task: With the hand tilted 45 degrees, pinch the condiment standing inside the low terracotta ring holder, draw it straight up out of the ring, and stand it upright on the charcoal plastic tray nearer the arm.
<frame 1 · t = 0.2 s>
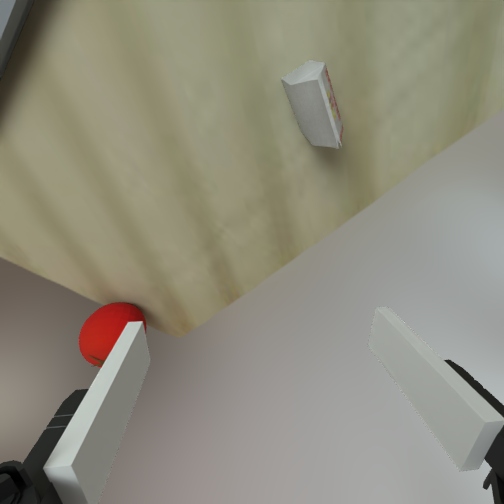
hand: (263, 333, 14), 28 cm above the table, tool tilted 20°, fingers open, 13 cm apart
white carton: (304, 98, 31), on the table
tomato: (125, 307, 55), on the table
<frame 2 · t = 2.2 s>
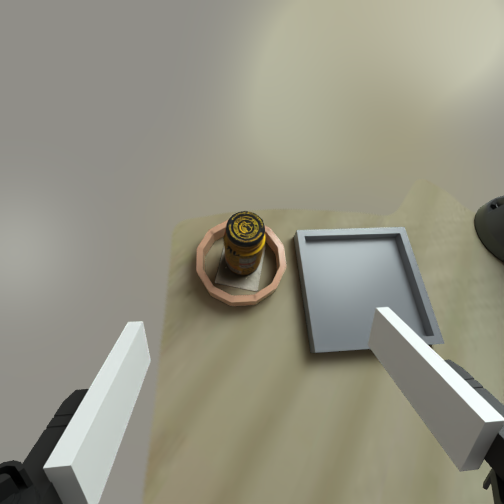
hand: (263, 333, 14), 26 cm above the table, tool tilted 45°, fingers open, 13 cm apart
ring holder: (241, 264, 43), on the table
condiment: (241, 264, 43), resting in ring holder
tray: (358, 286, 43), on the table
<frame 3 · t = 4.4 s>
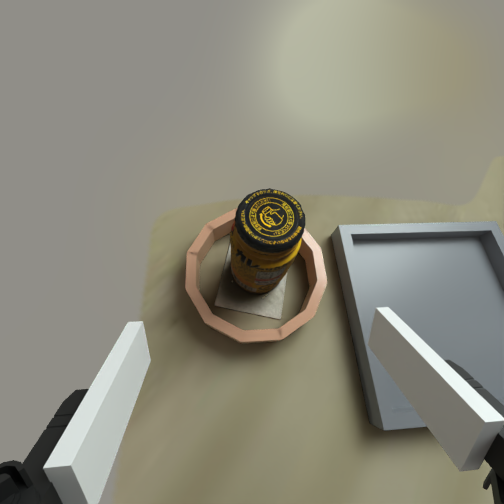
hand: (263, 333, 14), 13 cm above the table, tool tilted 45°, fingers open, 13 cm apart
ring holder: (254, 275, 29), on the table
condiment: (254, 276, 29), resting in ring holder
tray: (432, 311, 28), on the table
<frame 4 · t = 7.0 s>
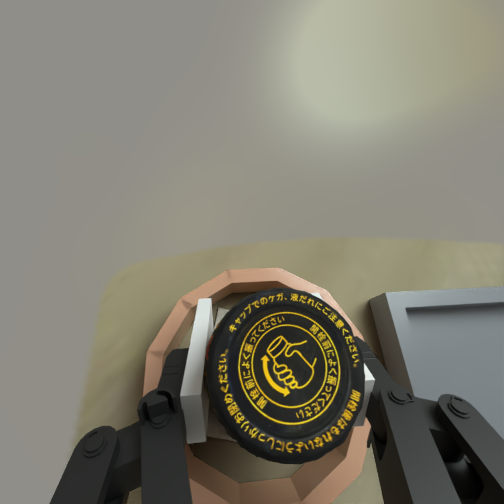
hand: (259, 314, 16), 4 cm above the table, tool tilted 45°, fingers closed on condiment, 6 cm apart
ring holder: (257, 373, 18), on the table
condiment: (254, 373, 19), resting in ring holder, touching gripper
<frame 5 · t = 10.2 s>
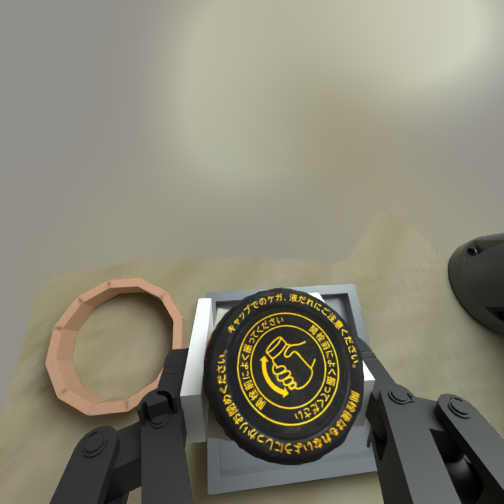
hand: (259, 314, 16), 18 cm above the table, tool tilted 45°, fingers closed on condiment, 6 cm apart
ring holder: (127, 341, 31), on the table
condiment: (253, 374, 19), point 14 cm above the table, touching gripper
tray: (288, 370, 31), on the table
when the fingers open (7 cm above the table, at t = 13.2 s): condiment drops 1 cm, resting on tray.
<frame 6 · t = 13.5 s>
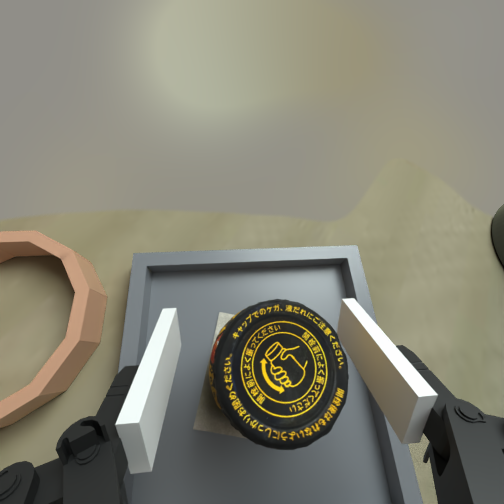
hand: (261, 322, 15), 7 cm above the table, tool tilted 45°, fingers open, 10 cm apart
ring holder: (13, 324, 21), on the table
condiment: (252, 373, 20), point 1 cm above the table, touching tray
tray: (255, 371, 21), on the table
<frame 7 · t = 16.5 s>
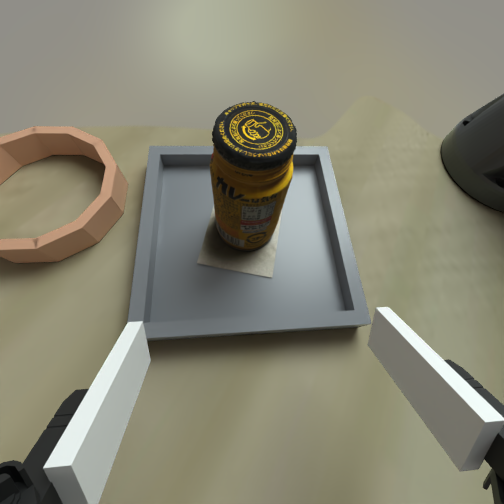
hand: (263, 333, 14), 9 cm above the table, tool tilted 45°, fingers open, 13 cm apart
ring holder: (55, 199, 26), on the table
condiment: (242, 233, 26), point 1 cm above the table, touching tray
tray: (245, 235, 26), on the table
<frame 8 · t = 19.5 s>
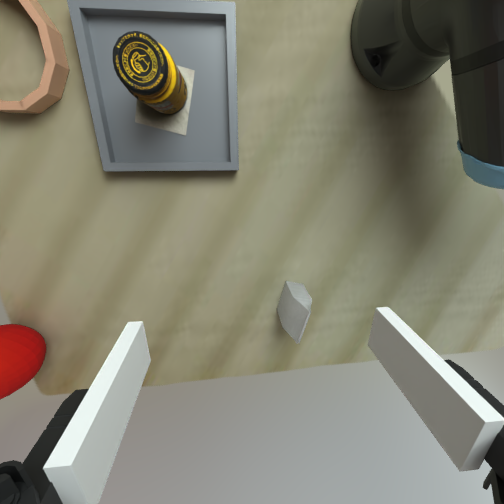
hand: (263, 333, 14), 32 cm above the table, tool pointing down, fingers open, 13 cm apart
ring holder: (7, 51, 33), on the table
condiment: (164, 97, 36), point 1 cm above the table, touching tray
white carton: (289, 296, 51), on the table
tray: (167, 97, 36), on the table
tomato: (28, 335, 49), on the table
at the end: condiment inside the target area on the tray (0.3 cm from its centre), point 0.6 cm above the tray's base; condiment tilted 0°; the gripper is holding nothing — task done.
